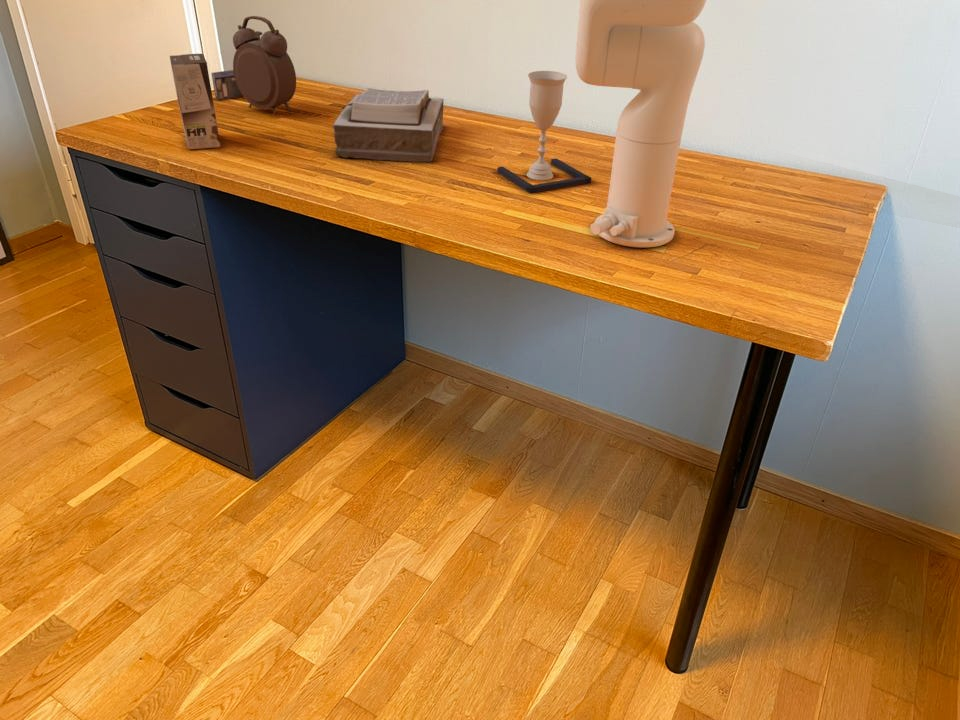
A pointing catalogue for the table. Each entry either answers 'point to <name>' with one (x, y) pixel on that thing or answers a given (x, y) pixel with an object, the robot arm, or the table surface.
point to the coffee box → (195, 100)
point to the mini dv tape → (225, 85)
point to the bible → (389, 126)
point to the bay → (578, 180)
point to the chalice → (544, 113)
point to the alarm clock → (263, 66)
